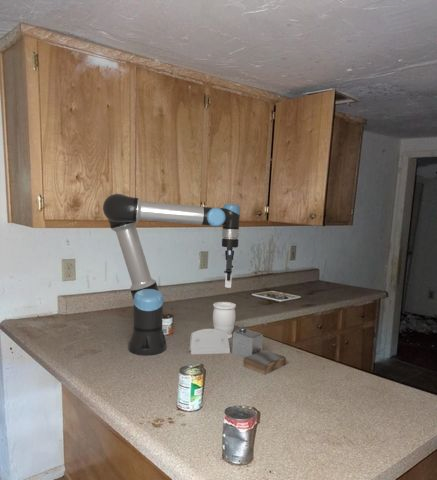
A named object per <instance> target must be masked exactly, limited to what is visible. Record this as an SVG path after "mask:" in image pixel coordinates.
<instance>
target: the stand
mask: <svg viewBox="0 0 437 480" xmlns="http://www.w3.org/2000/svg"><path fill="white" fill-rule="evenodd" d="M286 358H287V357H286V356H284V355H280V354H278V353H275V352H272V351H269V350H267V349H262V351H260V352H258V353H255V354H253V355H250V356H248V357H245V358H243V364H242V367H244V368H247V369H250V370H252V371H254V370H255V372H257V373H259V374H261V375H263V376H264V375H267V374H270V373H271V372H273V371H275V370H277V369H280V368H281V367H283V366H286V361H287V360H286Z"/></svg>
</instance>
